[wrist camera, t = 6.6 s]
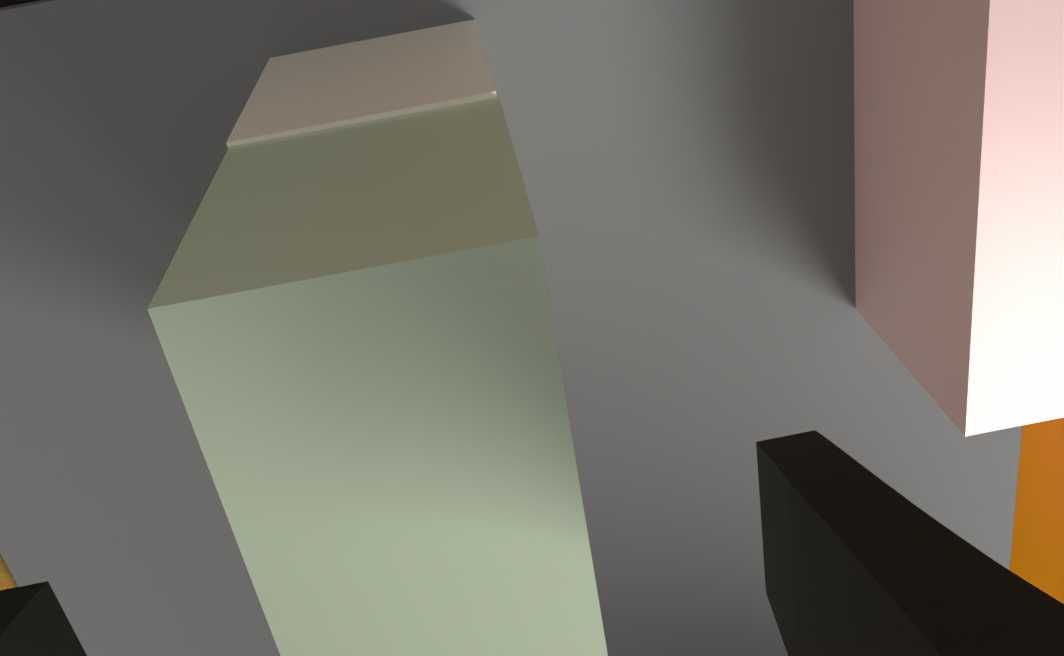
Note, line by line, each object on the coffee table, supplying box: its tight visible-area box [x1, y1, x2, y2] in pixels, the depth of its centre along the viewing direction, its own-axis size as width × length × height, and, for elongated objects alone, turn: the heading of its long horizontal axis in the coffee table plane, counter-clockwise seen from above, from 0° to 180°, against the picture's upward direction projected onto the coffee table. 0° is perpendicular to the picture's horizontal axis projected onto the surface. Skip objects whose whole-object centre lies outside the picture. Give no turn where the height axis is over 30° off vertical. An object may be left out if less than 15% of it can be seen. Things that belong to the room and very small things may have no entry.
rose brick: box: [854, 0, 1064, 437], centre depth 17 cm, size 7×4×5 cm, turn 9°
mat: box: [0, 0, 1022, 656], centre depth 21 cm, size 20×22×1 cm
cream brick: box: [226, 19, 497, 148], centre depth 17 cm, size 7×4×5 cm, turn 9°
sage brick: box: [148, 97, 608, 656], centre depth 13 cm, size 7×4×5 cm, turn 9°
